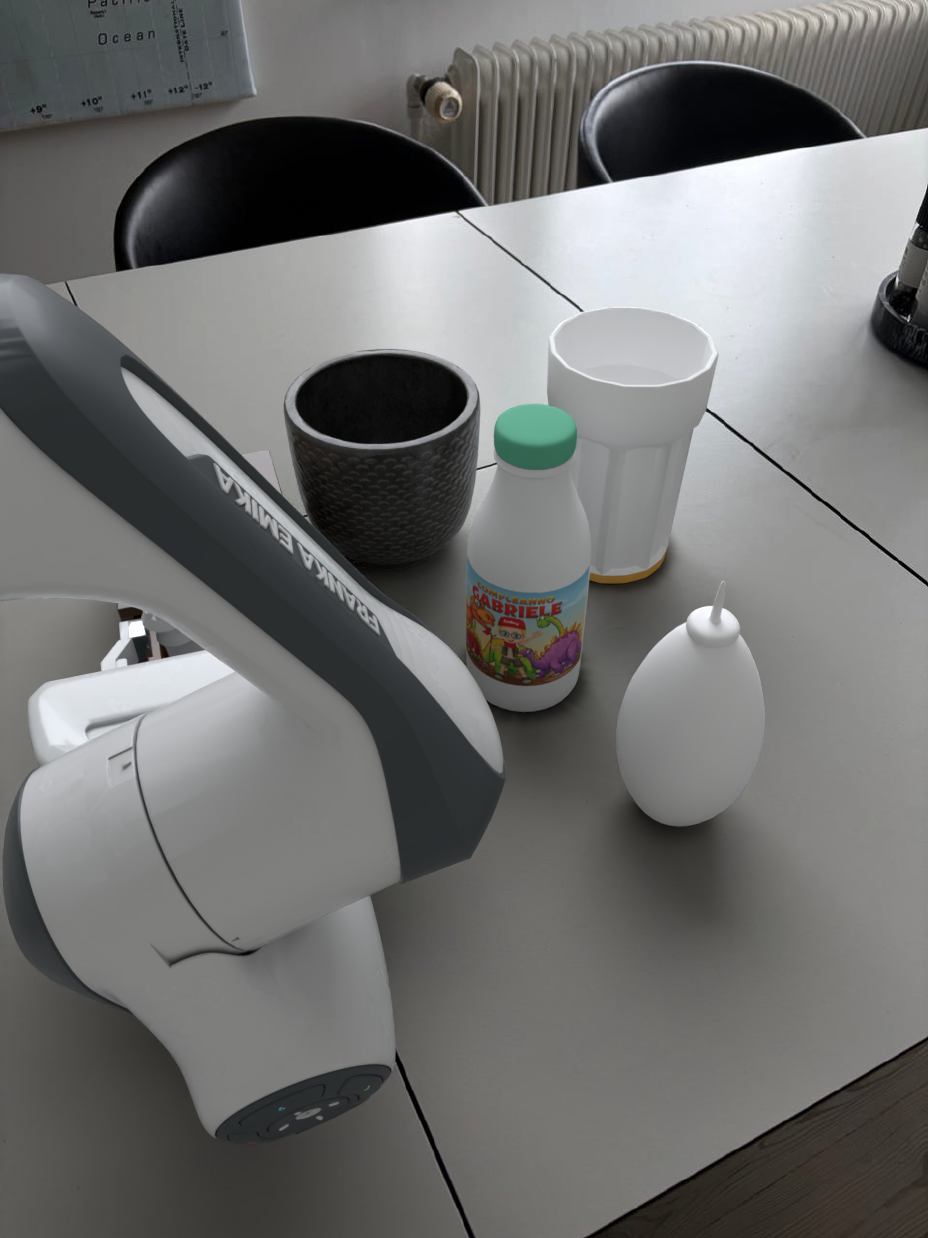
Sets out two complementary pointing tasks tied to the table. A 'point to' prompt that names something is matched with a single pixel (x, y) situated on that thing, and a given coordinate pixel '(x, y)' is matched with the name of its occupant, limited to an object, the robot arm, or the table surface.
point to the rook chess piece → (169, 636)
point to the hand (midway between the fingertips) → (215, 612)
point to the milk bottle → (528, 565)
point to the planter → (385, 452)
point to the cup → (630, 425)
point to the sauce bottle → (692, 720)
